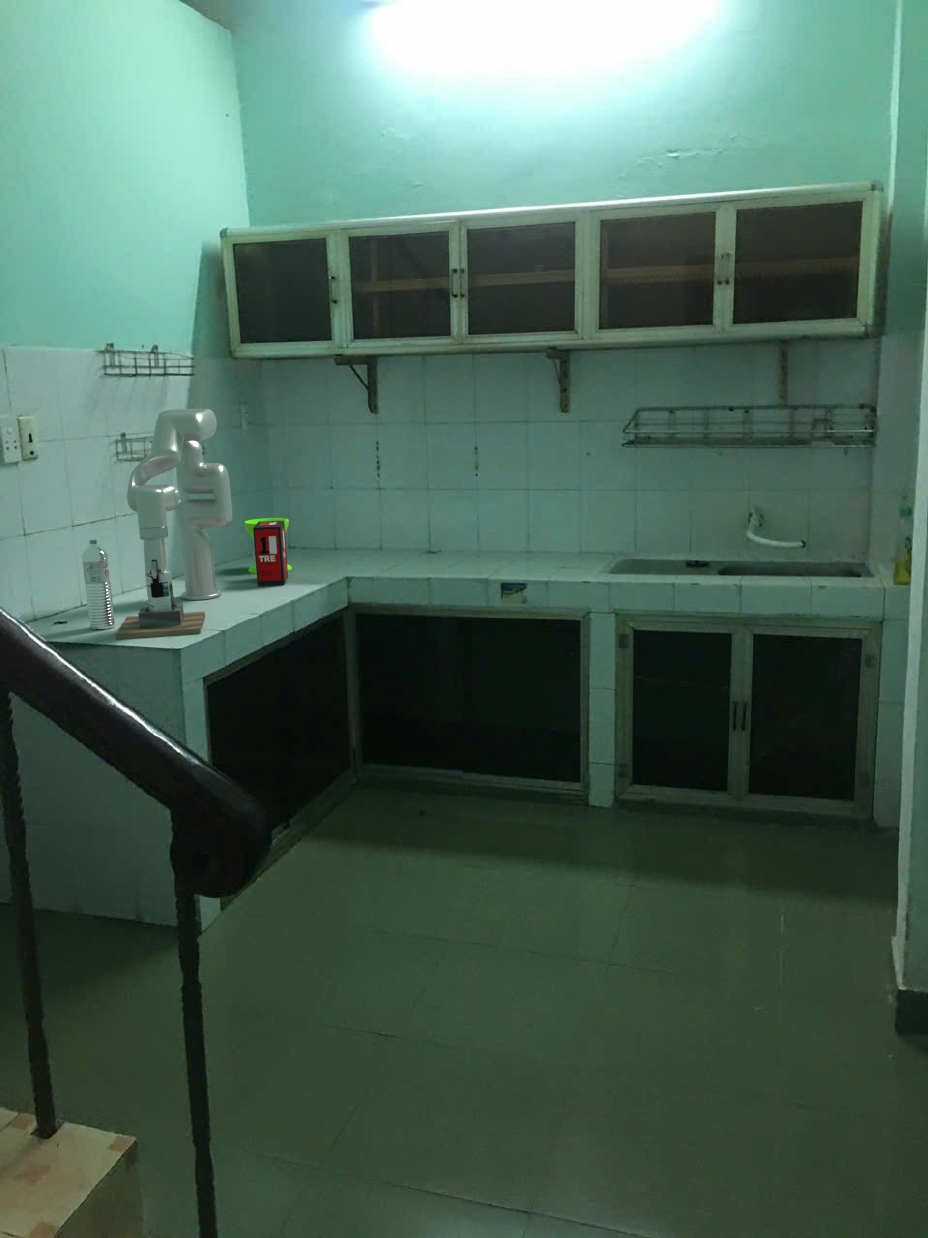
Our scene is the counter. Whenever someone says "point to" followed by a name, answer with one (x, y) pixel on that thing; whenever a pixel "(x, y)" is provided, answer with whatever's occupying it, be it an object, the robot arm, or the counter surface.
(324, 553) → the counter surface
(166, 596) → the syrup box
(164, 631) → the socket board
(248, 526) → the wineglass
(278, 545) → the cleaning product box
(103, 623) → the water bottle
